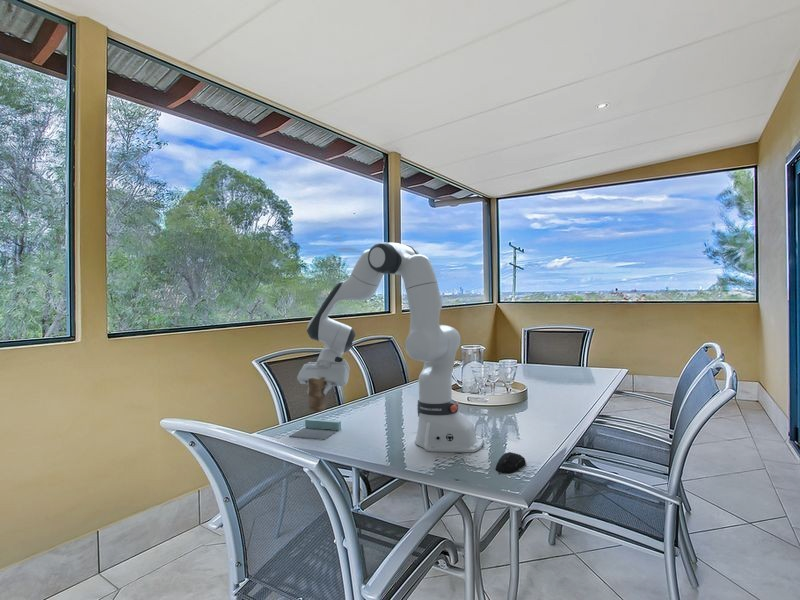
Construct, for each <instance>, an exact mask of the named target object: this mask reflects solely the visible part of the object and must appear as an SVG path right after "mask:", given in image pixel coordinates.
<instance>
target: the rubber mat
mask: <svg viewBox="0 0 800 600" xmlns="http://www.w3.org/2000/svg"><path fill="white" fill-rule="evenodd" d="M335 432H336V433H337V431H336V430H325V429H313V428H301V429H298V430H297V431H295V432H294V433H292V434H290V435H288V436H289V437H290V438H297V439H309V440H317V439H322V440H321V441H325V440H327V439H328V438H330V437H332V436H333V435H334V434H336V433H335ZM332 434H333V435H332ZM329 436H330V437H329ZM326 438H327V439H326Z"/></svg>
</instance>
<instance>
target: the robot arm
mask: <svg viewBox="0 0 800 600" xmlns="http://www.w3.org/2000/svg"><path fill="white" fill-rule="evenodd" d="M435 273H436V272H435V271H434V267H433V265H432V263H431V260H430V258H429V257H427V255H424V254H420V253H419V251H418V250H417V249H416V248H414V247H413V246H411V245H408V244H402V243H398V242H387V241H383V242H378V243H376V244H374V245H373V246H372V245H371V247H370V249H366V250H364V251H363V252H362V254H361V255H360V256H359V258H358V259H357V261H356V264H355V265H354V267H353V269H352V272H351V273H350V275H349V276H348V277H347V278H346V279H345V280H341V281H338V282H337V283H336V285H334V287H333V288H332V290H331V291H330V293H329V294H328V295H327V297H326V299H325V300H324V301H323V303H322V304H321V306H320V307H319V309H318V311H317V312H316V313H315V315H313V316H312V318H311V319H310V320H309V322H308V324H307V328H306V333H307V335H308V337H309V338H310V339H311V340H314V341H318V342H321V343H323V346H322V350H321V351H320V353H319V355H318V357H317V360H316V362H314V361H313V362H312V361H308V362H306V363H304V364H303V365H302V367H301V369H299V372H298V373H297V376H296V378H297V381H298V382H299V384H300V385H307V389H306V390H307V391H306V393H307V395H309V382H308V379H310V378H312V377H315V376H316V377H325V380H324V381H325V388H322V391H321V393H322V395H325V396H327V393H328V392H329V391H330V390H331V389H332V388H333V387H344V386H346V385H347V384H348V382H349V378H350V371H351V367H350V365H349V363H348V361H347V359H346V358H344V357H342V356H343V355H344V354H345V353H347V352H349V351H350V350H351V349H352V345H353V341H354V340H355V338H356V332H355V330H354V328H353V327H352V326H350V325H347V324H345V323H343V322H340V321H337V320H334V319H332V318H330V317H329V314H330V313H331V311H332V309H333V308H334V307H335V305H336V304H337V303H338V302H341V301H365V300H368V299H370V298H371V297H373V296H374V294H375V293H376V291H377V289H378V288H379V285H380V284H381V281H382V279H383V277H384V276H385V274H387V275H388V274H390V275H394V276H396V275H398V276H399V275H400V276H401V278H402V280H403V284H404V289H405V293H406V298H407V304H408V308H409V315H410V316H409V317H410V318H409V320H410V321H409V330H408V331H409V332H408V335H407V337H406V339H405V341H404V348H405V352H406V354H407V356H409V358H410V359H412V360H414V361H417V362H423V368H422V370H421V372H419V373H420V374H419V375H418V400H417V405H416V406H417V417H418V422H417V424H418V425H417V430H416V436H415V440H414V443H415V445H417V446H418V447H421V448H423V449H424V450H425V451H427V452H438V453H439V452H440V453H441V452H442V453H443V452H446V453H447V452H448V453H474V452H477V451H479V450H481V449H482V447H483V445H484V440H483V437H481V436H479V435H477V432H476V427H475V425H474V422H472V421H471V420H469V419H468V418H467V417H466V416H464V415H463V414H462V412H461V413H460V411H459V401H456V400H454V399H453V396H452V395H453V389H452V388H453V386H452V385H453V384H452V380H453V372H454V371H453V370H454V365H455V359H456V355H457V352H458V350H459V348H460V346H461V344H462V343H461V341H462V340H461V339H462V338H461V335H460V332H459V331H458V330H457V329H456V328H455V327H452V326H450V325H446V324H440V316H441V315H440V314H441V310H442V308H443V301H442V297H441V293H440V289H439V284H438V281H437V276H436V274H435Z"/></svg>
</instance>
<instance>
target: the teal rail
mask: <svg viewBox="0 0 800 600" xmlns="http://www.w3.org/2000/svg"><path fill="white" fill-rule="evenodd" d="M304 423H305V427H309V428H308V429H313V428H322V429H321V430H325V429H331V430H330V431H336V430H339V431H341V430H342V421H341V420H331V419H329V420H328V419H318V418H306V419H305V420H304Z"/></svg>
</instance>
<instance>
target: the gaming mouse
mask: <svg viewBox="0 0 800 600" xmlns="http://www.w3.org/2000/svg"><path fill="white" fill-rule="evenodd" d="M524 465H525V466H526V465H527V463H526V458H525V456H523V455H522V454H518V453H514V452H510V451H509V452H506V453H503V454H502V455H501V457H500V458H499V460H498V461H497V463H496V466H495V471H497V472H499V473H498V475H501V474H513V473H516V472H518V471H519V470H521V468H523V466H524ZM525 466H524V467H525Z"/></svg>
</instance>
